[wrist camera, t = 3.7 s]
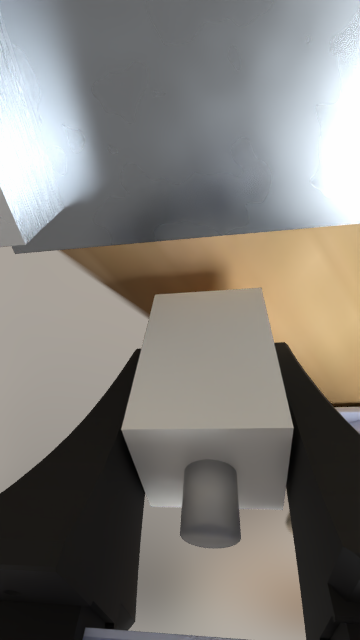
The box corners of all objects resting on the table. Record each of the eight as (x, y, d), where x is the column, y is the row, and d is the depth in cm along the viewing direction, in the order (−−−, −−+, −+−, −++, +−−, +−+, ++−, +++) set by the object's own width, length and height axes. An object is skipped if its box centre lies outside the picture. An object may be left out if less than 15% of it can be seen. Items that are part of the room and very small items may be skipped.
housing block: (259, 365, 15) (292, 571, 9) (169, 368, 15) (142, 563, 9) (261, 287, 12) (309, 496, 6) (155, 294, 13) (105, 492, 7)
